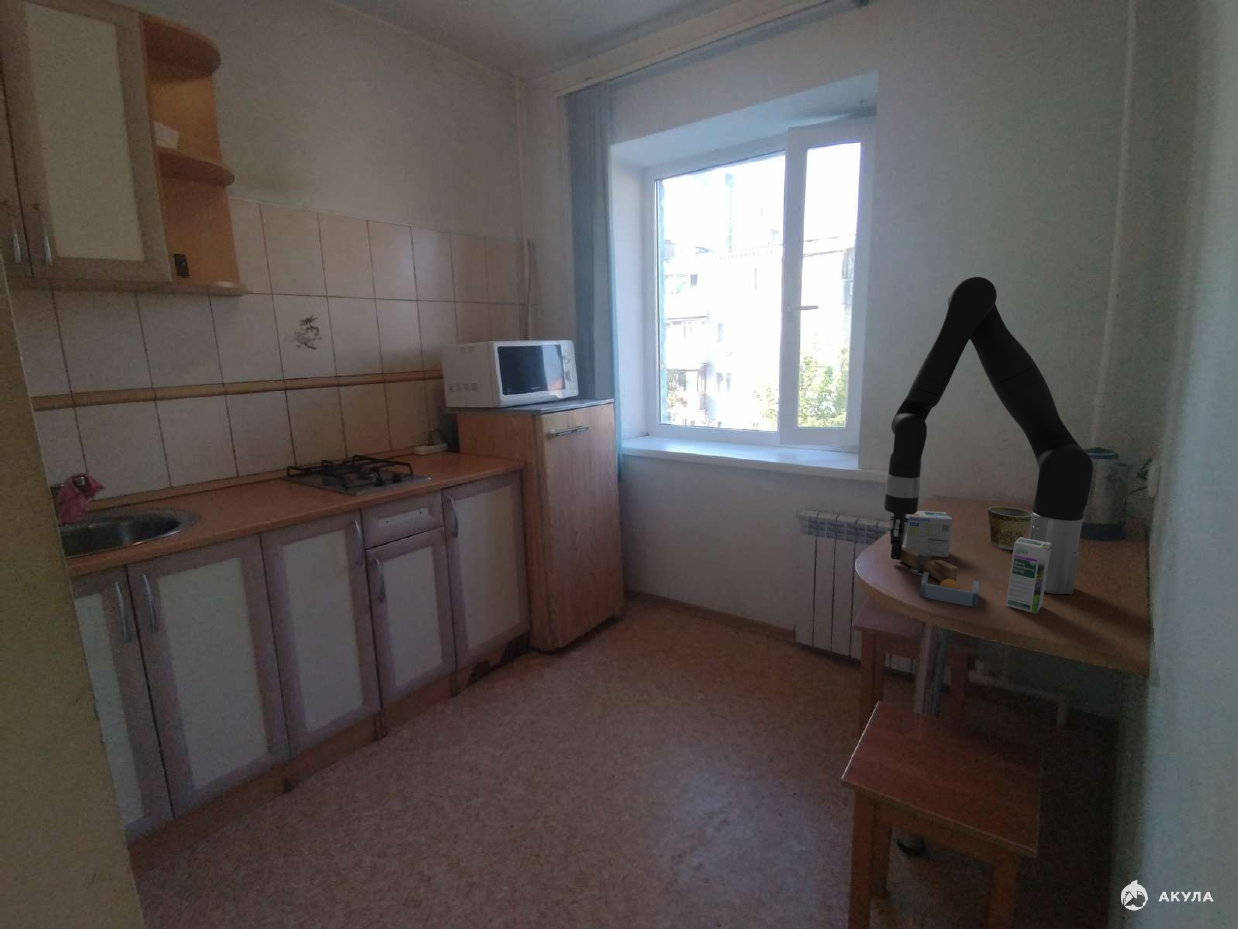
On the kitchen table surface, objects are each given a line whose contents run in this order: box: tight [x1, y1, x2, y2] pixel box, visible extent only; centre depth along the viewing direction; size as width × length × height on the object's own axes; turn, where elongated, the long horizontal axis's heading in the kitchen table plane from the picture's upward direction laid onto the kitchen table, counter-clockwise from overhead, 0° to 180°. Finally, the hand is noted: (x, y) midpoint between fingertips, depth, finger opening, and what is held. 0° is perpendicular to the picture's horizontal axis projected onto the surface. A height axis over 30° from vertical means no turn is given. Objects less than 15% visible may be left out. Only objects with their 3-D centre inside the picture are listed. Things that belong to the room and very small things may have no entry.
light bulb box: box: [902, 510, 953, 558], centre depth 156 cm, size 11×7×11 cm, turn 74°
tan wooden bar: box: [899, 547, 959, 582], centre depth 142 cm, size 17×3×4 cm, turn 15°
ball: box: [939, 579, 961, 590], centre depth 129 cm, size 4×4×4 cm
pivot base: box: [909, 566, 933, 578], centre depth 143 cm, size 6×6×1 cm
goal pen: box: [919, 572, 980, 609], centre depth 130 cm, size 11×8×3 cm
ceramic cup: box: [987, 505, 1032, 551], centre depth 161 cm, size 13×10×10 cm
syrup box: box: [1005, 536, 1051, 615], centre depth 123 cm, size 6×6×14 cm
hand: (895, 558), depth 148 cm, fingers closed
